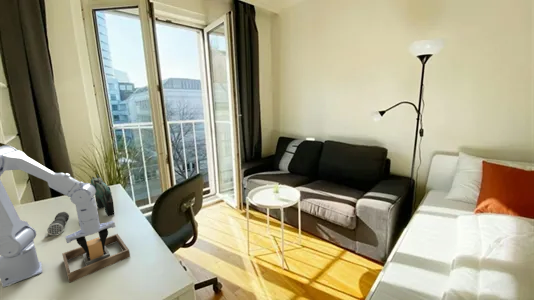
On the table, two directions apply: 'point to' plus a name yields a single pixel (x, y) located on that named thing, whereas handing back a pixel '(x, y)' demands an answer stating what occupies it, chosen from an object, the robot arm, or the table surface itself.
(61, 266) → the table surface
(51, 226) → the flashlight
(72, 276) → the walled box
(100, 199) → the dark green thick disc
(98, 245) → the block
